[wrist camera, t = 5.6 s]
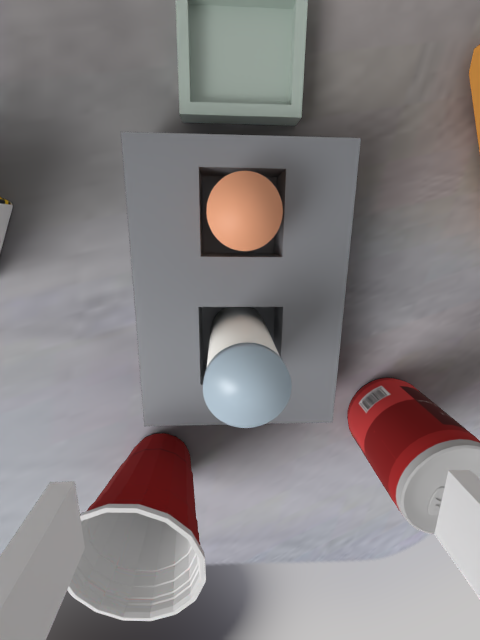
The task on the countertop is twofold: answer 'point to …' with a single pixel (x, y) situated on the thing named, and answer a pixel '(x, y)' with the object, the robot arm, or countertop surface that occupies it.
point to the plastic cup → (143, 537)
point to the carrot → (476, 87)
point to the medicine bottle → (4, 218)
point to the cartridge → (244, 370)
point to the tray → (241, 61)
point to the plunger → (244, 210)
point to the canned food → (410, 446)
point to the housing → (237, 264)
